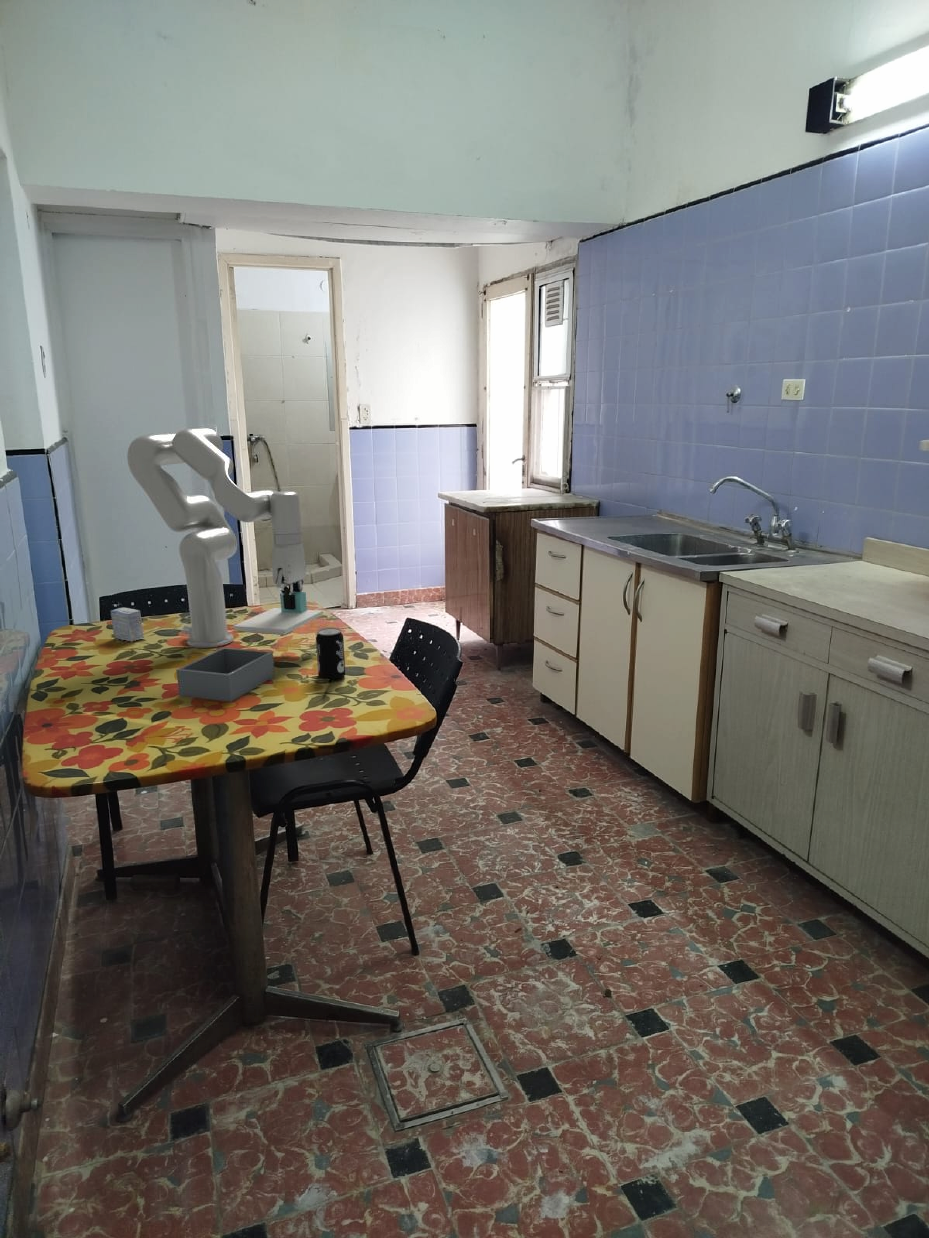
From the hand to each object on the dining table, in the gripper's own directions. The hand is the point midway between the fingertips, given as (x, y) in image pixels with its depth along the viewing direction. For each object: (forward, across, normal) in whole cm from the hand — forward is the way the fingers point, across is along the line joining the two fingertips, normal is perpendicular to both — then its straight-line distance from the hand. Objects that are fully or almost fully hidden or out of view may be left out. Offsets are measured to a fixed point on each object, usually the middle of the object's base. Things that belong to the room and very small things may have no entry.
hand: (293, 606), depth 219 cm
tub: (+12, +31, 0) cm, 33 cm away
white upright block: (+12, +3, -54) cm, 55 cm away
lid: (+3, +8, 0) cm, 8 cm away
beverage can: (+13, +17, +20) cm, 29 cm away
